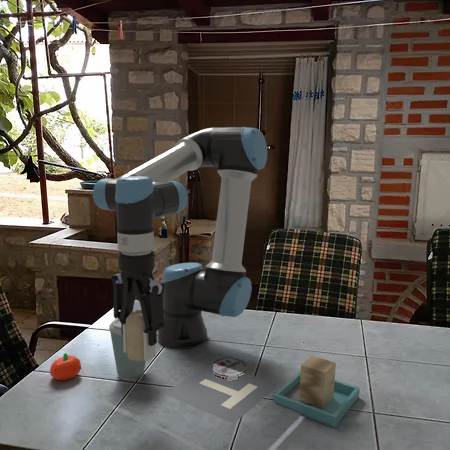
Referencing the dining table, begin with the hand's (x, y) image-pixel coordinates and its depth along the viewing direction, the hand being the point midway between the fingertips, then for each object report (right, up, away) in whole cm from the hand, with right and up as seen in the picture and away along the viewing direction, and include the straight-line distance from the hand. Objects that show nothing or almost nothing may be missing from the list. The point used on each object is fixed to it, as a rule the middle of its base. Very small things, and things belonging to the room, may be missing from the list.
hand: (139, 353), depth 102 cm
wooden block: (+40, -13, +7) cm, 43 cm away
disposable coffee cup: (-5, -11, +19) cm, 22 cm away
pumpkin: (-22, -11, +17) cm, 29 cm away
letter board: (+18, -12, +11) cm, 24 cm away
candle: (0, -1, 0) cm, 1 cm away
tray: (+40, -13, +8) cm, 43 cm away
